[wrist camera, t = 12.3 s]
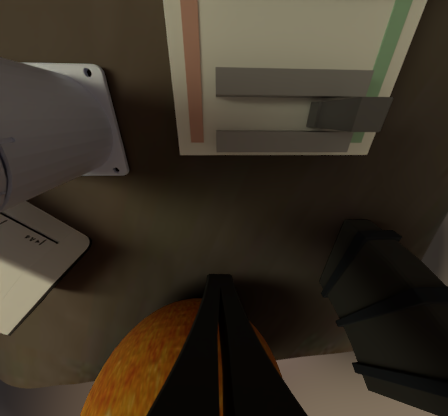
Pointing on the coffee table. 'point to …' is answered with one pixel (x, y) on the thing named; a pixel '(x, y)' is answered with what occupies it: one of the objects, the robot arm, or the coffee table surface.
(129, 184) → the coffee table surface
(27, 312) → the laminator
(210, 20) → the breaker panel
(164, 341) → the decorative sphere
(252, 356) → the robot arm
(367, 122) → the block
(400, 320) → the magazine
